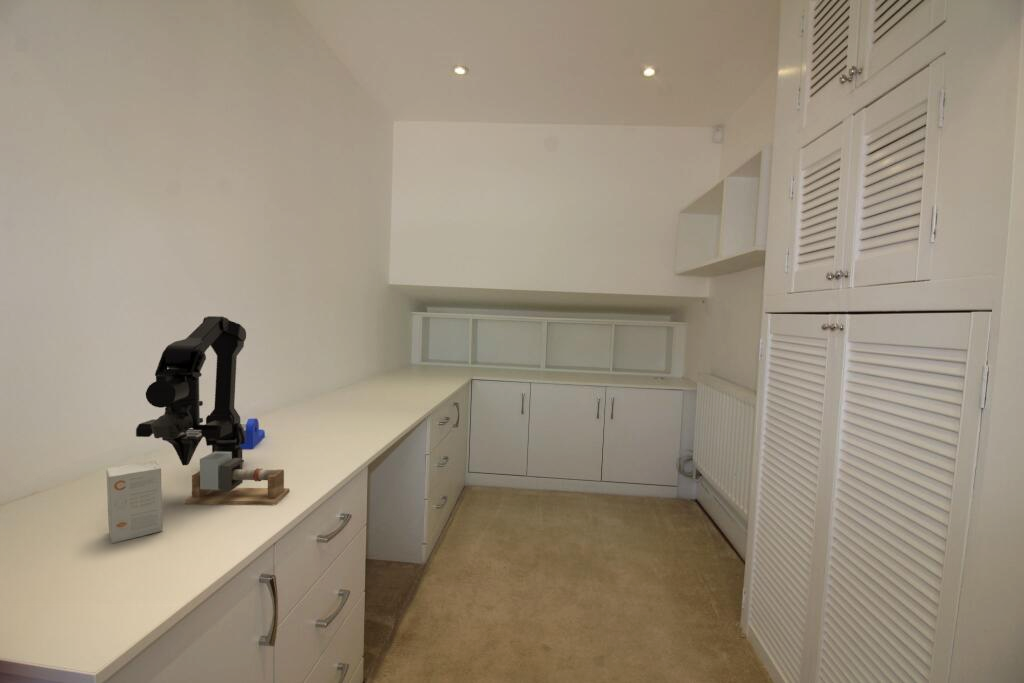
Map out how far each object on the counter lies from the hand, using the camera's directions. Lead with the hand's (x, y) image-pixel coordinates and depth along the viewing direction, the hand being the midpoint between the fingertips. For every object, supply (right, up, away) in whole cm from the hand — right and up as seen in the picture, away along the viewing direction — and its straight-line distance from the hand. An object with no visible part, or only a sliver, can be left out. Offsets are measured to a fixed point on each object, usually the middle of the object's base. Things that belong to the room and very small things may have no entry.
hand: (185, 464), depth 114 cm
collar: (+10, -5, +1) cm, 12 cm away
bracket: (-11, -5, +47) cm, 48 cm away
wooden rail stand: (+12, -8, +1) cm, 14 cm away
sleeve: (+7, -5, +1) cm, 8 cm away
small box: (+2, -9, -17) cm, 20 cm away
